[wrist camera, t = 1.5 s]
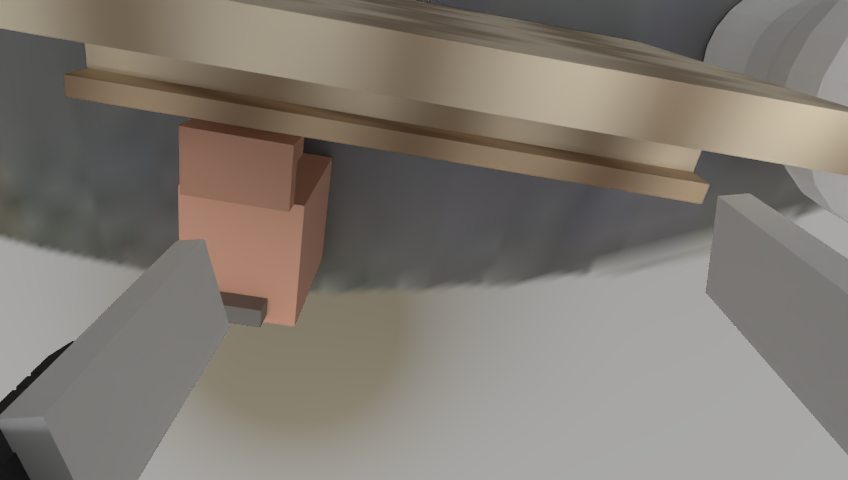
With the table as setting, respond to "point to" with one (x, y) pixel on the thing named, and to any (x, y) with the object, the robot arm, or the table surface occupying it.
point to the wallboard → (440, 86)
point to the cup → (792, 65)
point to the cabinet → (254, 215)
